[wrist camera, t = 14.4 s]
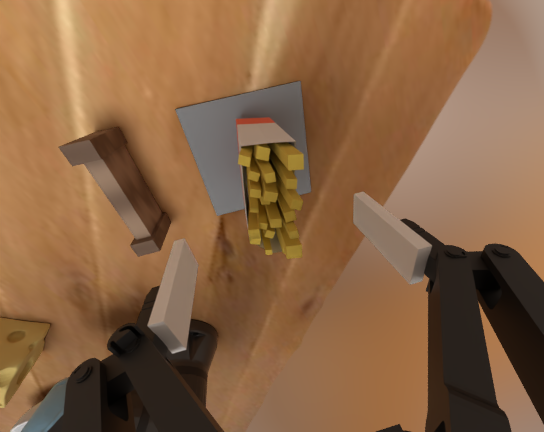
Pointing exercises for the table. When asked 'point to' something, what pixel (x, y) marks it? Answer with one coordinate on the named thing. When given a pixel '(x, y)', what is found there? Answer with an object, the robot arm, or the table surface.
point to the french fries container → (270, 185)
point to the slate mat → (224, 145)
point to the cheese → (18, 353)
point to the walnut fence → (121, 186)
